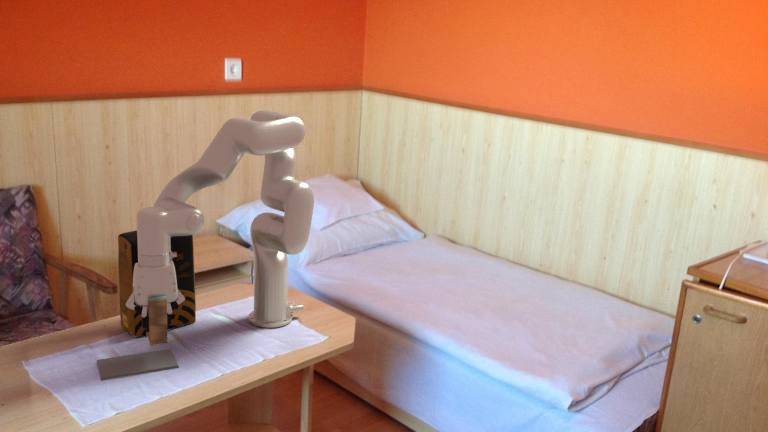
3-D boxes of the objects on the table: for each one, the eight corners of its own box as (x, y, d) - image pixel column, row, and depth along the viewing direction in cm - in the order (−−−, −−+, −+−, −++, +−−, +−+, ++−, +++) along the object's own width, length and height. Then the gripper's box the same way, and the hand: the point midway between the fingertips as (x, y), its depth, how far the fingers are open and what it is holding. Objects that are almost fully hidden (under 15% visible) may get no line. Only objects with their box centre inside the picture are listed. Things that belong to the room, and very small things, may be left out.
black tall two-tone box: (199, 323, 205) (198, 228, 198) (132, 340, 193) (128, 239, 185) (183, 310, 213) (180, 219, 205) (117, 326, 201) (112, 229, 193)
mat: (170, 350, 188) (170, 348, 188) (178, 367, 180) (178, 365, 180) (96, 361, 180) (96, 359, 180) (101, 380, 172) (101, 378, 172)
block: (162, 331, 184) (161, 287, 181) (167, 343, 178) (166, 297, 175) (146, 334, 183) (144, 289, 179) (150, 345, 177) (149, 299, 173)
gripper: (186, 250, 182) (187, 318, 187) (115, 257, 174) (118, 327, 179) (193, 260, 175) (194, 330, 180) (119, 266, 168) (122, 339, 173)
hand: (156, 328), depth 180 cm, fingers closed on block, 4 cm apart
